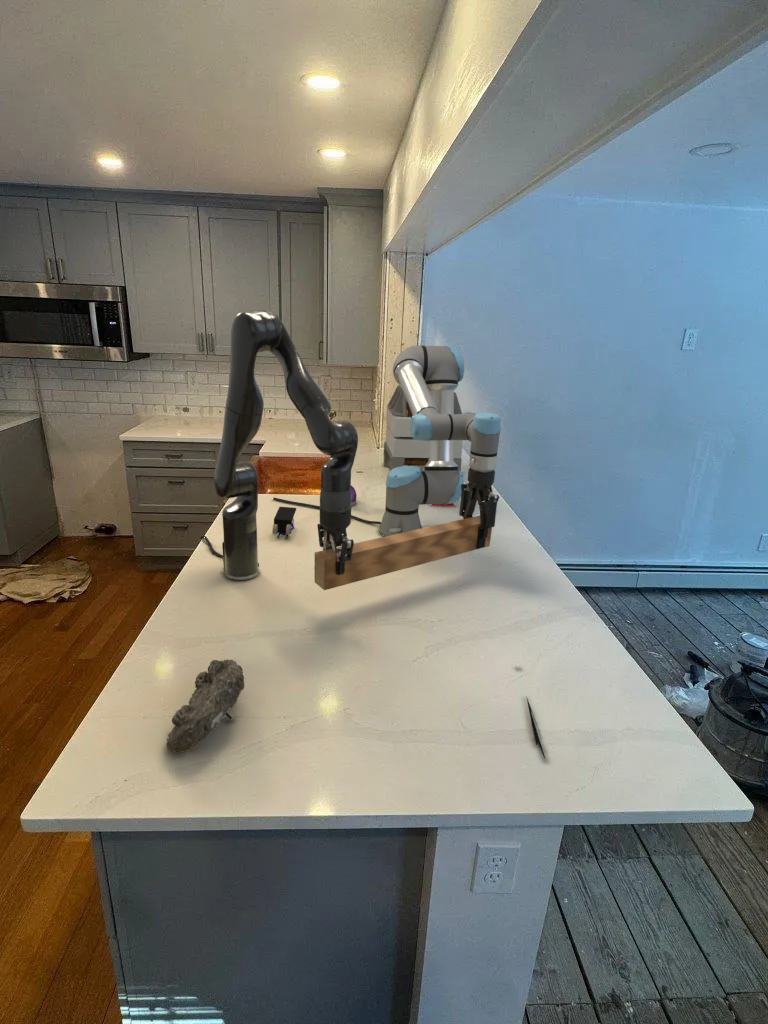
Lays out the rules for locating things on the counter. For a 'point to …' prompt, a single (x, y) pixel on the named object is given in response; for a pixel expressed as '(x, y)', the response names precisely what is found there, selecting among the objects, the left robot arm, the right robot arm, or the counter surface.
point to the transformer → (409, 436)
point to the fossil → (206, 705)
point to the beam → (399, 552)
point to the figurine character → (284, 521)
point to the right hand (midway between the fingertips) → (473, 543)
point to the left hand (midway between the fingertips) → (334, 569)
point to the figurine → (353, 496)
